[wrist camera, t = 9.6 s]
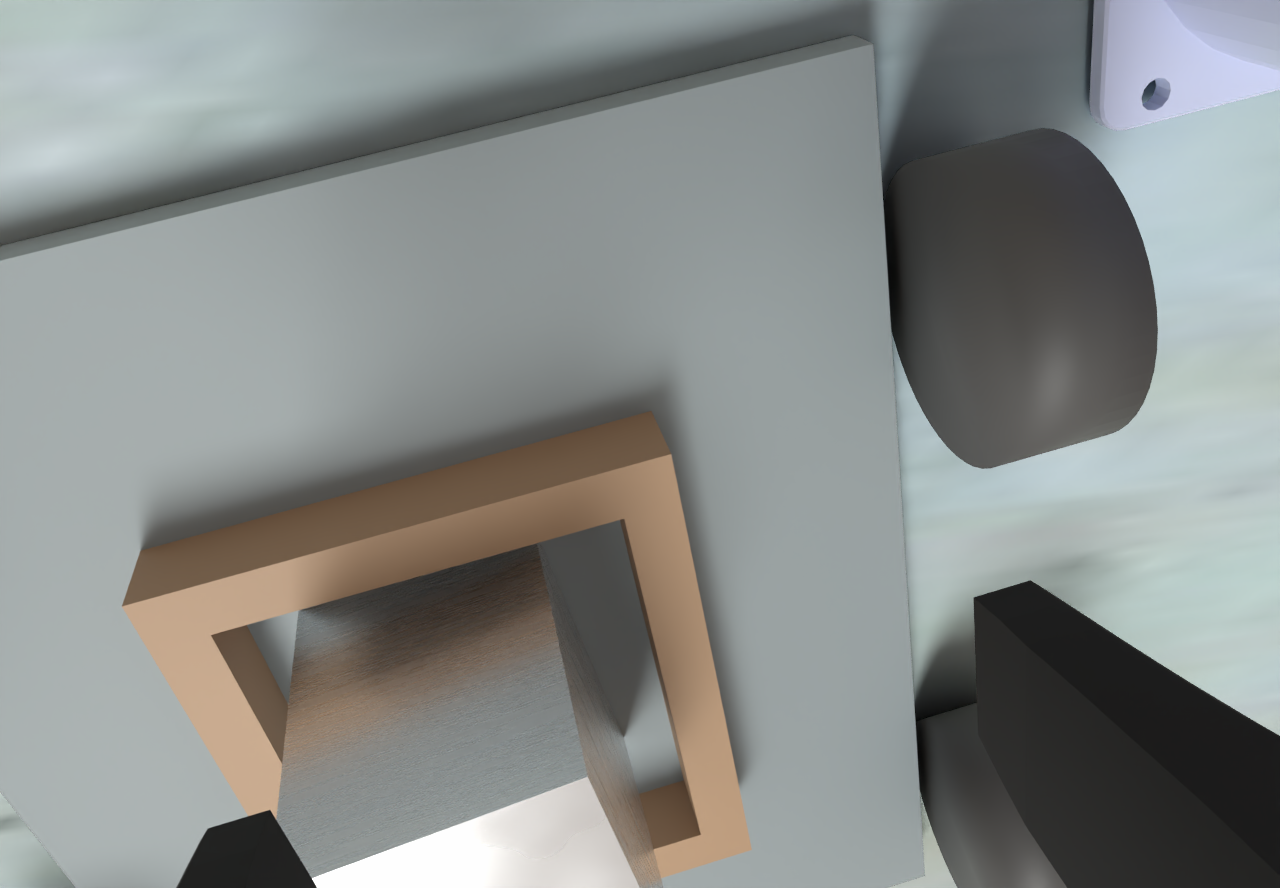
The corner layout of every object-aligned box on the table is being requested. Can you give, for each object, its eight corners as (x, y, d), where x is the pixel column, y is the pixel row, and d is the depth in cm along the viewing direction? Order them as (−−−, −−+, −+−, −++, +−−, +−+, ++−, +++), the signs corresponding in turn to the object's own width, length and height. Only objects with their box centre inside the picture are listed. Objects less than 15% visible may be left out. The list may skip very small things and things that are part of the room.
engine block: (533, 524, 19) (587, 776, 14) (624, 737, 22) (695, 1004, 17) (298, 609, 19) (268, 894, 14) (424, 811, 22) (436, 1102, 17)
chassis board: (982, 2, 17) (1183, 61, 13) (988, 826, 28) (1096, 1002, 24) (-476, 363, 15) (-811, 573, 11) (154, 1089, 26) (111, 1331, 22)
